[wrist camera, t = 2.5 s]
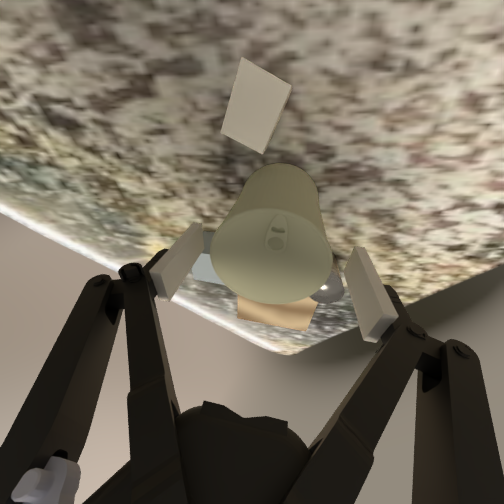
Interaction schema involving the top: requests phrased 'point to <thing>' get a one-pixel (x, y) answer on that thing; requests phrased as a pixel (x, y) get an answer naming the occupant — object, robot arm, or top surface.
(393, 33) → the top surface
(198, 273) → the block gray
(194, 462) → the robot arm
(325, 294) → the tin
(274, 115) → the block white
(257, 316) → the board
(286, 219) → the can
